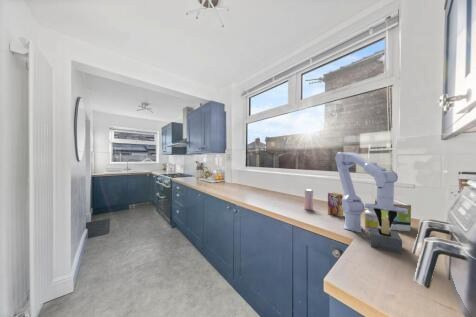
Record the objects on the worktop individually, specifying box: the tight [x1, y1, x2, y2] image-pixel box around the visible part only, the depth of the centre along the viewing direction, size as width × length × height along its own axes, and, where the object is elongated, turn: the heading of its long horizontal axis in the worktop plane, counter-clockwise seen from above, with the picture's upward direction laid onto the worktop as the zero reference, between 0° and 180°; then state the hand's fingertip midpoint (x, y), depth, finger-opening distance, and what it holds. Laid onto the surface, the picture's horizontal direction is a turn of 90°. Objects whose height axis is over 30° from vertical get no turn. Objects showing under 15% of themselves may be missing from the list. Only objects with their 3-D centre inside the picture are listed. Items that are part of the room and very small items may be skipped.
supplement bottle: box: [364, 208, 380, 231], centre depth 93 cm, size 7×7×13 cm
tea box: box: [374, 197, 412, 232], centre depth 99 cm, size 15×10×15 cm, turn 168°
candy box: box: [327, 191, 344, 218], centre depth 116 cm, size 9×4×15 cm, turn 47°
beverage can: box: [304, 188, 314, 211], centre depth 128 cm, size 6×6×15 cm
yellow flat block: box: [380, 217, 390, 235], centre depth 76 cm, size 5×2×6 cm, turn 145°
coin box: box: [369, 226, 403, 255], centre depth 76 cm, size 10×10×6 cm
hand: (384, 226), depth 76 cm, fingers closed on yellow flat block, 2 cm apart
